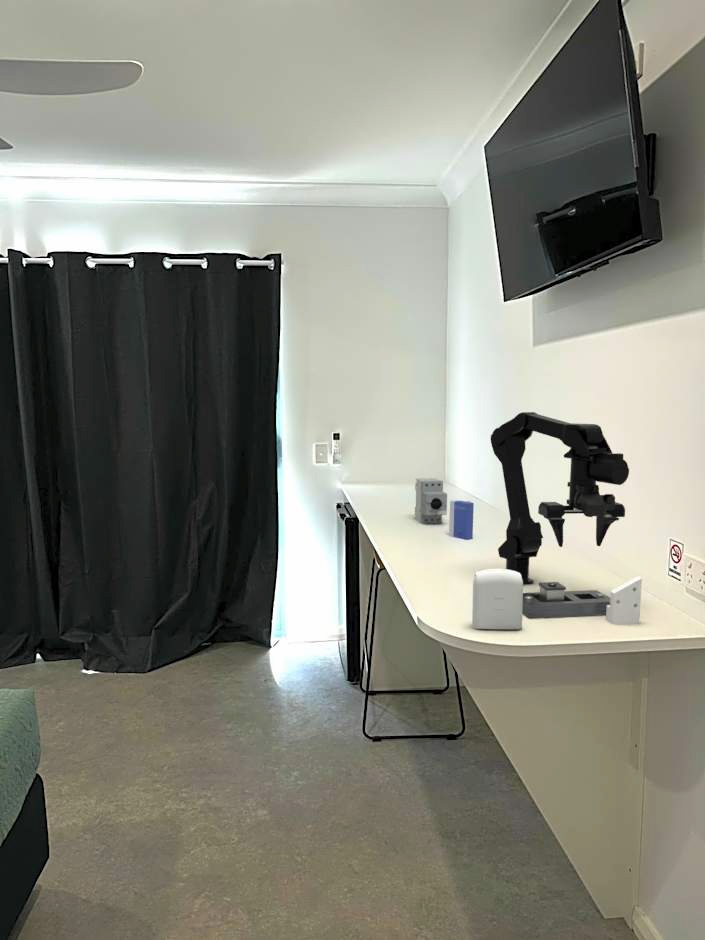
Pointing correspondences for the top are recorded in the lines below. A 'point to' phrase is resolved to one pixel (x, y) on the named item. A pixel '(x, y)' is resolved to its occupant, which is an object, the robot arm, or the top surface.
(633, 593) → the white angled block
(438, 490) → the circuit breaker
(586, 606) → the metal cover plate
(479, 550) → the top surface
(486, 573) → the photo printer
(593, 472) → the robot arm
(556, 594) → the drawer with knob
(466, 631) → the top surface
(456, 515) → the walkman
